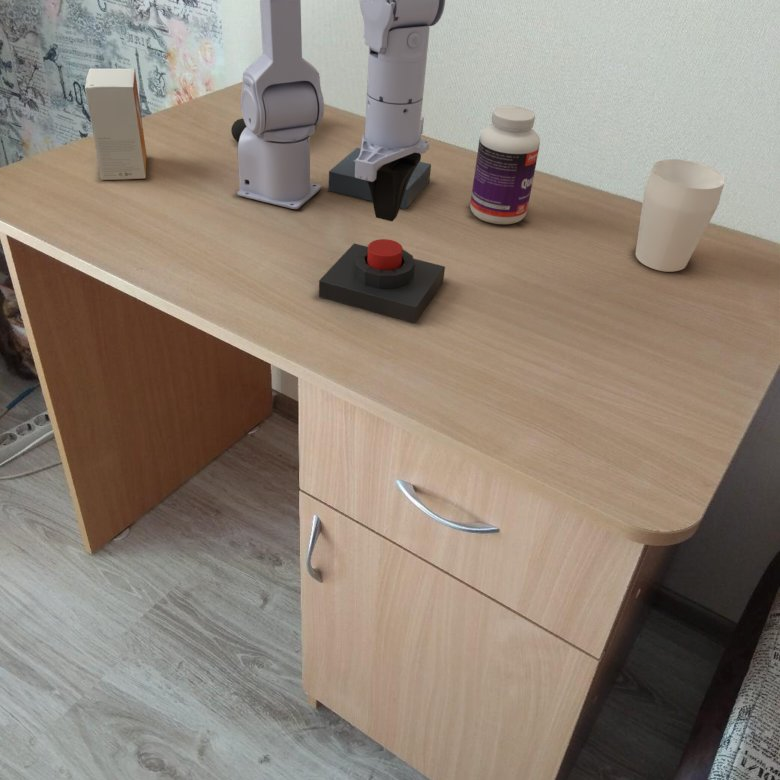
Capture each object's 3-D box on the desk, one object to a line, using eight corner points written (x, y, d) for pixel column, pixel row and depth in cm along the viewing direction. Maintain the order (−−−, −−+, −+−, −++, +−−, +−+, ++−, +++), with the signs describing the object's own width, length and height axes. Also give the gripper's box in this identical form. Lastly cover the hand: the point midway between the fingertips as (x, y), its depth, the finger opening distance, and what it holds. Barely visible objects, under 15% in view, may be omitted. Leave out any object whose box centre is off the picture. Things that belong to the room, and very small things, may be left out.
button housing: (318, 296, 90) (318, 266, 88) (353, 258, 98) (354, 229, 95) (415, 323, 87) (418, 293, 85) (443, 282, 95) (447, 253, 92)
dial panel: (328, 190, 112) (328, 170, 110) (356, 166, 119) (357, 146, 117) (405, 209, 109) (407, 188, 107) (429, 183, 116) (431, 162, 114)
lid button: (361, 266, 89) (362, 250, 88) (375, 251, 92) (375, 235, 91) (393, 275, 88) (395, 259, 87) (406, 259, 91) (407, 243, 90)
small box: (147, 179, 111) (133, 86, 103) (100, 181, 110) (83, 87, 101) (147, 156, 117) (135, 67, 109) (103, 157, 116) (87, 67, 108)
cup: (696, 251, 105) (726, 167, 97) (694, 283, 98) (726, 195, 91) (629, 237, 107) (653, 153, 99) (622, 267, 100) (648, 180, 93)
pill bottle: (523, 231, 106) (544, 128, 97) (465, 222, 107) (480, 119, 98) (527, 206, 112) (546, 106, 103) (472, 198, 113) (487, 98, 104)
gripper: (406, 125, 72) (395, 254, 81) (454, 81, 83) (440, 199, 91) (337, 110, 74) (334, 238, 82) (393, 69, 84) (385, 186, 93)
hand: (386, 217), depth 87 cm, fingers closed
